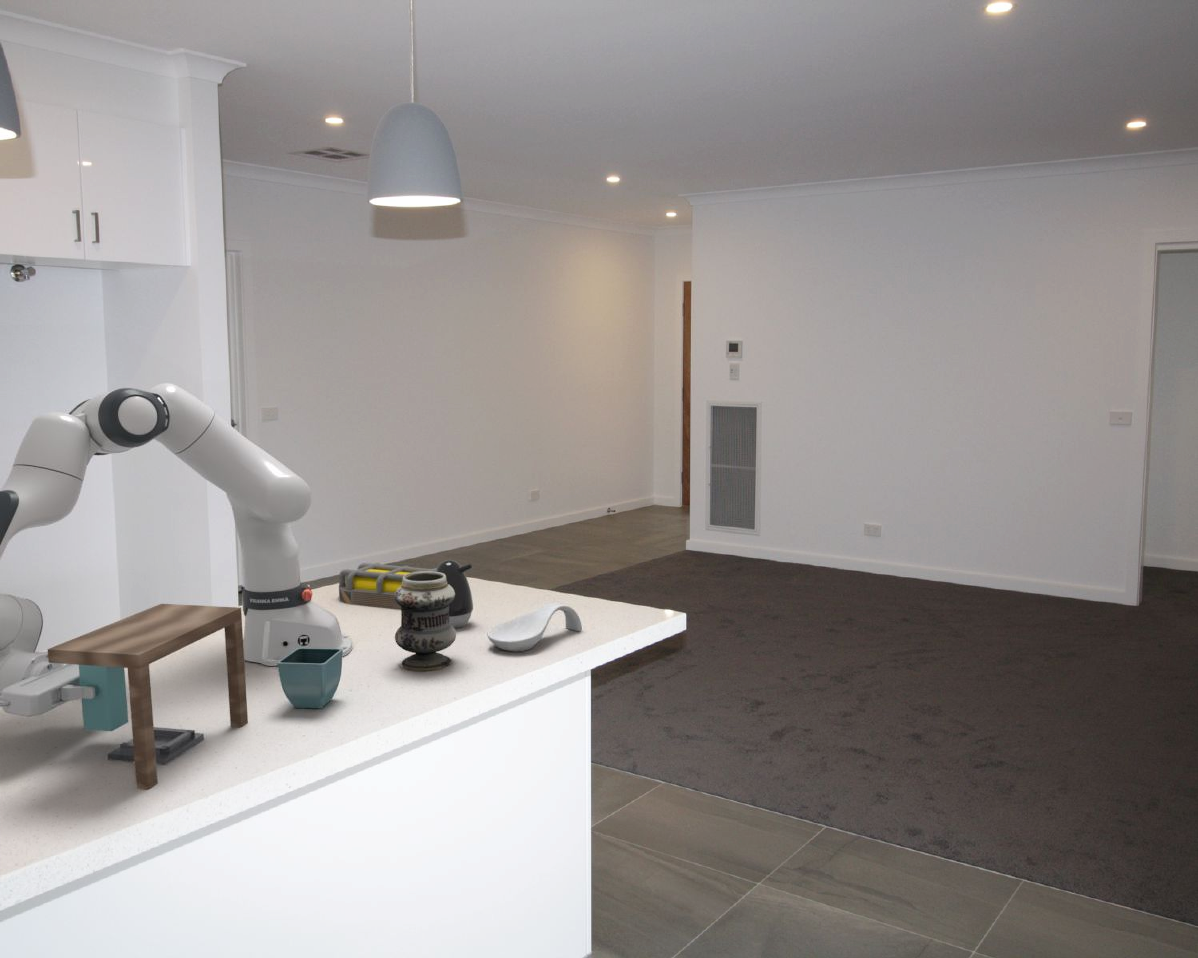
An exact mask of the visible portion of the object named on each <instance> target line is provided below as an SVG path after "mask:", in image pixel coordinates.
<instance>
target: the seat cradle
mask: <svg viewBox="0 0 1198 958" xmlns="http://www.w3.org/2000/svg"><path fill="white" fill-rule="evenodd" d="M204 734H205V733H203V732H202V733H199V732H196V730H194V729H184V728H183V729H182V728H170V727H169V728H168V727H157V726H154V740H155V754H156V765H164V766H166V765H168V763H171V762H172V761H173V760H175V759H177V758H178V757H179V756H181V755H182V754H184V753H186V752H187V751H189V750H190V749H192V748H194V747H195V746H196V745H198V744H199V743H201V742H203V741H204V740H205V735H204ZM107 760H108V761H116V762H117V761H118V762H119V761H120V762H129V763H135V760H134V747H133V738H132V739H130V740H129V741H127V742H126V741H125V742H124V741H123V742H122V743H120V744H119V746H118V747H117V748H114V749H113V750H111V751H109V752H108V753H107Z"/></svg>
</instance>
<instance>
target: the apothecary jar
mask: <svg viewBox="0 0 1198 958" xmlns="http://www.w3.org/2000/svg"><path fill="white" fill-rule="evenodd" d="M394 597H395V601H396V602H397V604H399V605H400V606H401V610H400V611H401V612H400V613H401V614H400V615H401V616H400V617H401V618H400V619H401V620H400V623H401V624H400V626H399V627H398V628H397V630H396V632H395V635H394V641H395V643H396V645H397V646H398V647H399V648H401V649H402V650H404V651H406V652H408V653H413V654H411V655H409V656H407V657H405V658H404V659H403V660H402V661H401V663H400V664H401V666H402V667H403V669H407V670H409V671H414V672H415V671H416V672H417V671H419V672H427V671H428V672H429V671H437V670H441V669H443V668H444V667H446V666H450V665H451V663H452V659H451V658H450V657H449V656H448V655H444V654H442V653H439V652H440V651H443V650H446V649H448V648H450V647H451V646H452V645H453V644H454V642H455V641H456V638H457V631H456V628H453V627H452V626H451V625H450V621H449V604H450V603H451V602H452V601H453V599H454V597H455V592H454V589H453V588H452V587H451V586H450V585H449V584H447V581H446V575H445V574H444V573H441V572H434V571H419V572H413V573H409V574H406V575H404V576H403V581H402V585H401V586H400V587H399V588H398V589H397V591H396V592H395V596H394Z"/></svg>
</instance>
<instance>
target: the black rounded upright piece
mask: <svg viewBox="0 0 1198 958" xmlns="http://www.w3.org/2000/svg"><path fill="white" fill-rule="evenodd" d="M436 568H437V569H436V571H435V572H441V573H444V574H445V575H446V581H447V584H449V585H450V586H451V587H452V588H453V589H454V592H455V597H454V599H453V601H452V602H451V603H450V604H449V621H450V625H451V626H452V627H453V628H454V629H458V628H461V627H463V626H465V625H466V624H467V623H468V622H469V621H470V619H471V617H472V613H473V611H474V601H473V596H472V591H471V587H470V583H469V580H468V578H467V576H466V574H465V572H467V571H469V570H471V569H473V565H472V564H471V563H468V564H465V565H462V566H461V565H460V563H459V562H457V561H456V560H453V559H446V560H443V561H441V562H440V563H439V565H438V566H437V567H436Z"/></svg>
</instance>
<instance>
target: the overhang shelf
mask: <svg viewBox="0 0 1198 958" xmlns="http://www.w3.org/2000/svg"><path fill="white" fill-rule="evenodd" d="M242 618H243V617H242V607H237V606H236V607H234V606H216V605H215V606H214V605H212V606H211V605H198V604H197V605H193V604H178V603H177V604H175V603H174V604H173V603H159V604H156V605H154V606H153V607H149V608H147V609H145V610H142V611H140V612H137V613H135V614H132V615H130V616H127V617H124V618H122V619H120V620H117V621H115V622H112V623H109V624H107V625H105V626H103V627H100V628H98V629H94V630H91V631H90V632H87V633H85V634H82V635H80V636H77V637H74V638H73V639H70V640H67V641H65V642H62V643H59V644H57V645H55V646H53V647H49V648H47V651H48V661H49V663H61V664H76V665H91V666H106V667H121V668H124V669H127V679H128V690H129V694H128V695H129V703H130V706H129V707H130V716H131V717H130V718H131V719H130V720H131V730H132V731H131V732H132V733H131V734H132V739H133V747H134V760H135V762H134V771H135V783H136V784H135V785H136V789H142V790H150V789H152V788H153V787H154V786H156V785H158V770H157V769H158V768H157V767H158V766H157V764H156V754H155V740H154V727H155V726H154V716H153V715H154V714H153V713H154V712H153V702H152V700H153V699H152V690H151V688H152V687H151V674H150V665H151V664H152V663H154V662H156V661H159V660H161V659H163V658H165V657H167V656H169V655H171V654H173V653H176V652H177V651H179V650H181V649H183V648H186V647H188V646H189V645H191V644H194V643H195V642H196V643H197V642H198V641H200V640H202V639H204V638H207V637H208V636H210V635H212V634H214V633H216V632H219V631H221V630H223V629H224V638H225V639H224V642H225V655H226V657H225V658H226V659H225V660H226V673H227V689H228V690H227V691H228V706H229V707H228V708H229V721H230V727H234V728H235V727H237V728H242V727H244V726H245V725H247V724H249V720H248V719H249V717H248V703H247V688H246V687H247V684H246V682H247V681H246V668H245V667H246V665H245V660H244V648H243V637H244V631H243V619H242Z"/></svg>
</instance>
